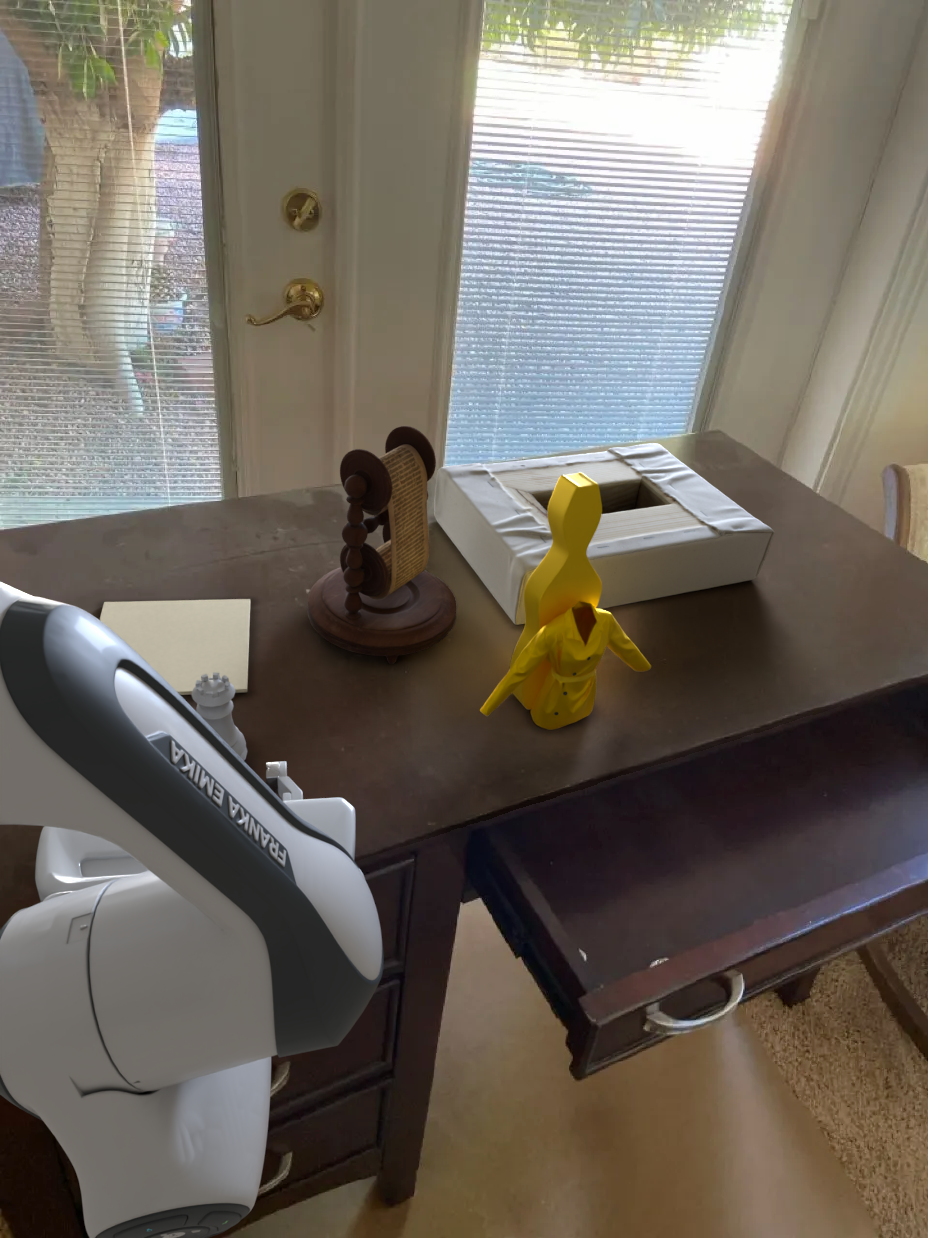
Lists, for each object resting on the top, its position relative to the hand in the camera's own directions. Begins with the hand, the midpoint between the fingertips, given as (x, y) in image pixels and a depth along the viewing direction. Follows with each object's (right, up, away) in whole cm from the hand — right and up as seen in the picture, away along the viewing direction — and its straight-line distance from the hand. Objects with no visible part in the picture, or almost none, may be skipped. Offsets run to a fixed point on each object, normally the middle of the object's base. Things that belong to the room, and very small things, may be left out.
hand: (210, 771), depth 65 cm
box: (+33, +19, +40) cm, 56 cm away
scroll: (+10, +11, +25) cm, 29 cm away
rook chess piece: (-2, 0, +8) cm, 8 cm away
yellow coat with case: (+27, +3, +17) cm, 32 cm away
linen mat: (-9, +8, +19) cm, 22 cm away
